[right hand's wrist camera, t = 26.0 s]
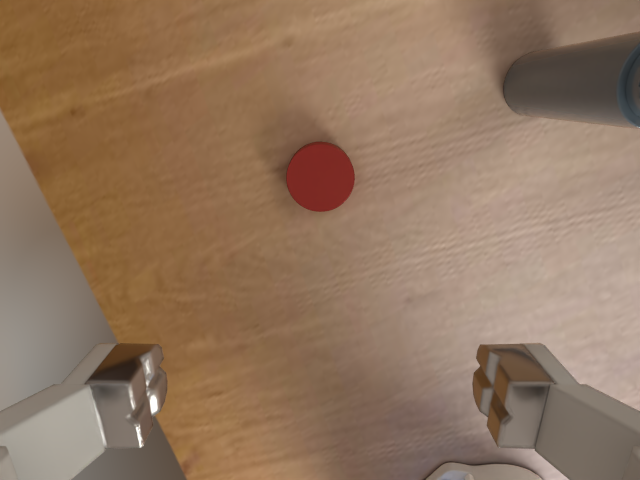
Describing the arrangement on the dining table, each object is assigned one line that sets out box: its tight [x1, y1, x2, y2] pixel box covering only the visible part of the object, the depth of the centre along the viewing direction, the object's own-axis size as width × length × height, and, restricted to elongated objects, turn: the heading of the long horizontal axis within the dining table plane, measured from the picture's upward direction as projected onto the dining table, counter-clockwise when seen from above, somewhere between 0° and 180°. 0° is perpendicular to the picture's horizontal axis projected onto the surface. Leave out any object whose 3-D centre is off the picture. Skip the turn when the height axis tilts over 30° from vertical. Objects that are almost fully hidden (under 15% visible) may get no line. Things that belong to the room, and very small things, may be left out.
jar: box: [504, 31, 640, 129], centre depth 26 cm, size 5×5×15 cm
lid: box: [286, 142, 355, 212], centre depth 34 cm, size 6×6×2 cm
